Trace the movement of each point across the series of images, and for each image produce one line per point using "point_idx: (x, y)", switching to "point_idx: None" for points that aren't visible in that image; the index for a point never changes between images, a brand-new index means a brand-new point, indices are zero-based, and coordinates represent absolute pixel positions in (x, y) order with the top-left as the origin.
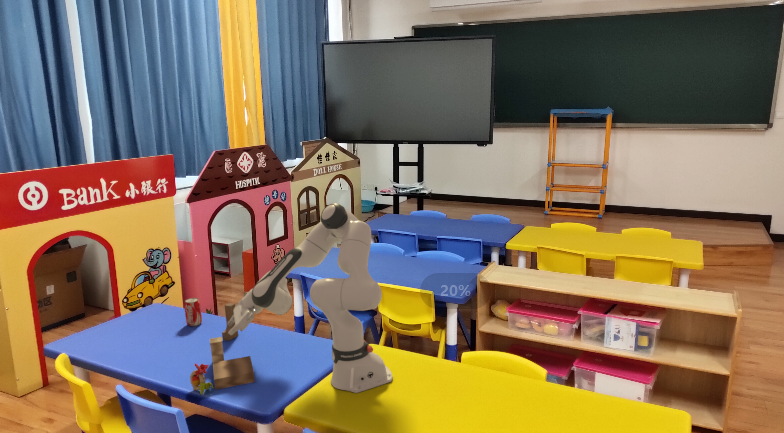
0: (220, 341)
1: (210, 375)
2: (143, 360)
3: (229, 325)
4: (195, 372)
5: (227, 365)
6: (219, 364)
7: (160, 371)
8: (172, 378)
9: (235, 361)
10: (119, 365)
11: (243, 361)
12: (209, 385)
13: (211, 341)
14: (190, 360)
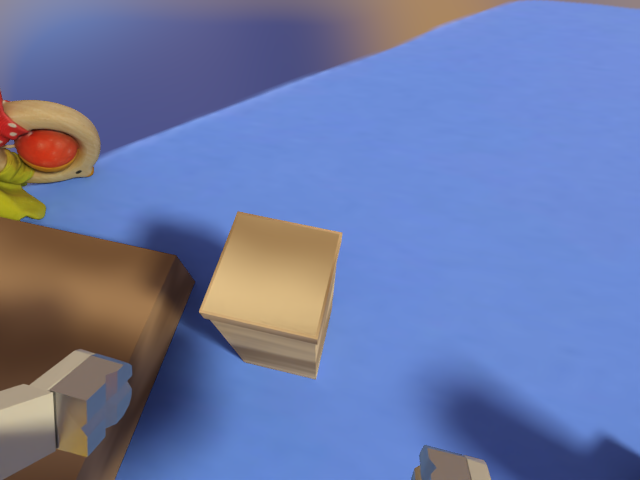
0: (208, 295)
1: None
2: (529, 69)
3: (418, 473)
4: (4, 102)
5: (54, 323)
6: (115, 283)
7: (377, 99)
8: (275, 122)
9: None
10: (519, 11)
11: None
12: (13, 207)
13: (269, 230)
14: (424, 216)
